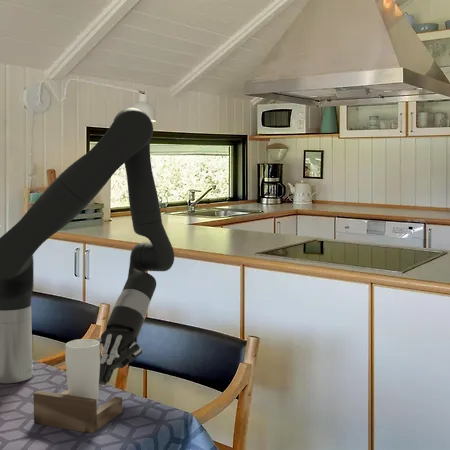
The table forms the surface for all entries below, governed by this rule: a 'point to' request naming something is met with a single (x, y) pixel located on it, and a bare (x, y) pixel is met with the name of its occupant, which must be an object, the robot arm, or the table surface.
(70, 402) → the walnut dock
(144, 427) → the table surface
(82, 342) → the white cup
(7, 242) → the robot arm
